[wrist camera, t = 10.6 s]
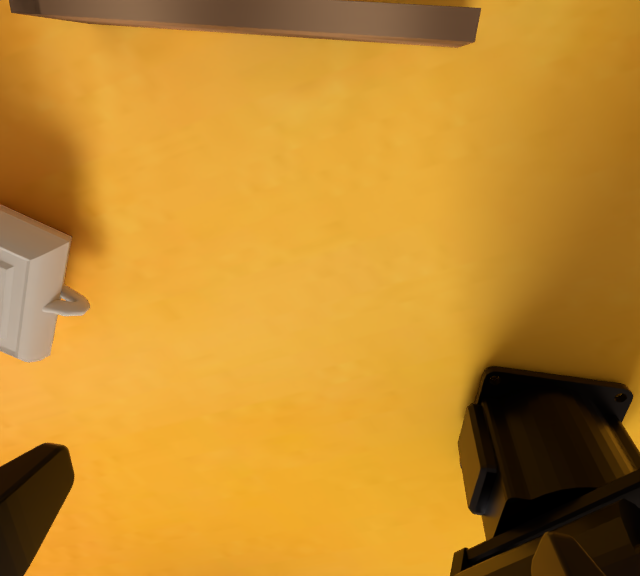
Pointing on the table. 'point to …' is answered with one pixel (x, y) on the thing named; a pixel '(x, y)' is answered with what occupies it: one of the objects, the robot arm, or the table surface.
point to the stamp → (33, 285)
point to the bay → (276, 18)
